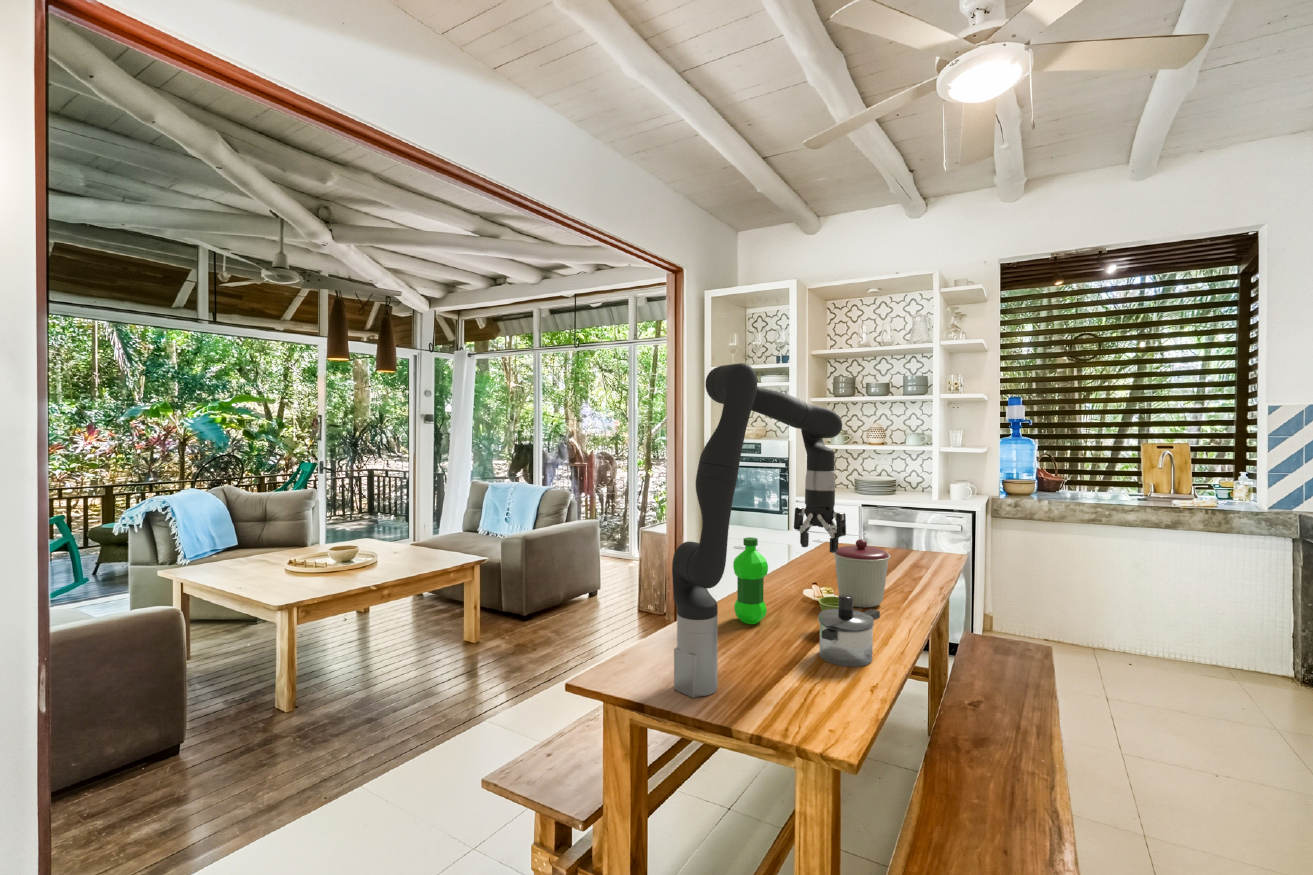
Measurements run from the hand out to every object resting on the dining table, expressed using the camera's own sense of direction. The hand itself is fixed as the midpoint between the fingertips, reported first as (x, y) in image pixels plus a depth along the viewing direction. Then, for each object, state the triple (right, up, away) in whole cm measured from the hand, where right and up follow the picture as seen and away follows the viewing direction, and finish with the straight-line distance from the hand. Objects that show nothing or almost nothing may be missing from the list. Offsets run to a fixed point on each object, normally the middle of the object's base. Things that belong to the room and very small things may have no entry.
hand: (818, 549), depth 164 cm
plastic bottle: (-14, -26, +25) cm, 39 cm away
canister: (+25, -26, +43) cm, 56 cm away
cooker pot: (+9, -27, 0) cm, 28 cm away
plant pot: (+9, -27, +17) cm, 33 cm away
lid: (+6, -18, -3) cm, 19 cm away
